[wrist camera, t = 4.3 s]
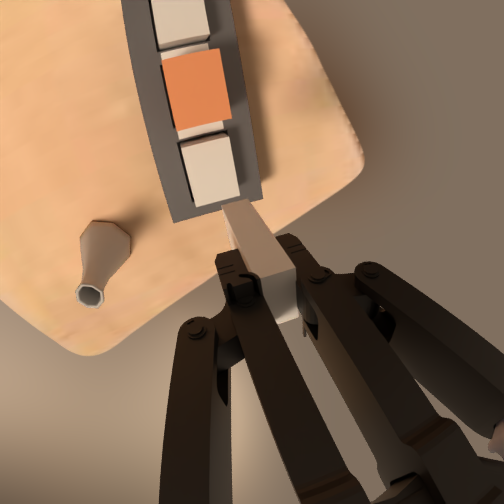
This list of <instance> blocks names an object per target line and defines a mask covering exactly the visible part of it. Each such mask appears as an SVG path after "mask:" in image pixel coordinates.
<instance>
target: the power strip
mask: <svg viewBox="0 0 504 504" xmlns="http://www.w3.org/2000/svg"><path fill="white" fill-rule="evenodd" d="M121 4H122V11H123V18H124V24H125V30H126V36H127V42H128V48H129V53H130V58H131V63H132V68H133V73H134V78H135V83H136V87H137V92H138V96H139V101H140V105H141V109H142V113H143V117H144V121H145V125H146V129H147V133H148V137H149V141H150V145H151V149H152V152H153V156H154V160H155V163H156V167H157V170H158V174H159V177H160V181H161V184H162V187H163V191H164V194H165V197H166V200H167V204H168V207H169V210H170V213H171V216H172V220H173V223H176V222H180V221H183V220H187V219H190V218H194V217H197V216H201V215H204V214H208V213H212V212H215V211H219V210H222V207H221V205H225V204H229V203H232V202H236V201H240V200H244V199H248V200H249V201H250V202H253V201H257V200H261V199H263V195H262V188H261V181H260V175H259V168H258V162H257V155H256V149H255V142H254V136H253V130H252V124H251V118H250V112H249V105H248V99H247V94H246V88H245V82H244V76H243V70H242V64H241V59H240V53H239V48H238V42H237V37H236V31H235V26H234V20H233V15H232V10H231V5H230V0H204V5H205V10H206V16H207V21H208V26H209V32H210V35H209V36H208V38H207V39H206V41H205V42H201V43H196V44H191V45H186V46H181V47H177V48H172V49H168V50H164V51H160V48H159V43H158V38H157V32H156V27H155V21H154V15H153V9H152V3H151V0H121ZM217 48H219V50H220V55H221V60H222V66H223V71H224V77H225V82H226V88H227V93H228V99H229V104H230V110H231V115H232V119H227V120H222V121H217V122H213V123H209V124H204V125H200V126H196V127H192V128H188V129H184V130H181V131H177V130H176V126H175V122H174V118H173V113H172V109H171V104H170V100H169V95H168V90H167V86H166V81H165V76H164V71H163V66H162V61H161V60H164V59H168V58H172V57H177V56H181V55H185V54H190V53H195V52H200V51H206V50H211V49H217ZM220 131H222V132H223V133H225V134H226V135H228V136H229V139H230V144H231V150H232V155H233V160H234V166H235V171H236V176H237V182H238V187H239V192H240V196H236V197H233V198H229V199H225V200H221V201H217V202H214V203H210V204H206V205H203V206H199V207H196V205H195V201H194V197H193V193H192V189H191V186H190V182H189V178H188V174H187V170H186V166H185V162H184V158H183V154H182V150H181V145H180V141H183V140H187V139H191V138H195V137H199V136H203V135H207V134H211V133H216V132H220Z"/></svg>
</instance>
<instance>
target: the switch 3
mask: <svg viewBox="0 0 504 504" xmlns="http://www.w3.org/2000/svg"><path fill="white" fill-rule="evenodd" d="M180 145H181V150H182V154H183V158H184V162H185V166H186V170H187V174H188V178H189V182H190V186H191V189H192V193H193V197H194V201H195V205H196V207H199V206H203V205H206V204H210V203H214V202H217V201H221V200H225V199H229V198H233V197H236V196H240V192H239V187H238V182H237V176H236V171H235V166H234V160H233V155H232V150H231V144H230V139H229V136H228V135H226V134H225V133H223V132H222V131H220V132H216V133H211V134H207V135H203V136H199V137H195V138H191V139H187V140H183V141H180Z"/></svg>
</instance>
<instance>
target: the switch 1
mask: <svg viewBox="0 0 504 504" xmlns="http://www.w3.org/2000/svg"><path fill="white" fill-rule="evenodd" d="M151 3H152V9H153V15H154V21H155V27H156V32H157V38H158V43H159V48H160V51H164V50H168V49H172V48H177V47H181V46H186V45H191V44H196V43H201V42H205V41H206V39H207V38H208V36H209V35H210V32H209V26H208V21H207V16H206V10H205V5H204V0H151Z"/></svg>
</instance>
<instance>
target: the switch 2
mask: <svg viewBox="0 0 504 504" xmlns="http://www.w3.org/2000/svg"><path fill="white" fill-rule="evenodd" d="M161 61H162V66H163V71H164V76H165V81H166V86H167V90H168V95H169V100H170V104H171V109H172V113H173V118H174V122H175V126H176V130H177V131H181V130H184V129H188V128H192V127H196V126H200V125H204V124H209V123H213V122H217V121H222V120H227V119H232V115H231V110H230V104H229V99H228V93H227V88H226V82H225V77H224V71H223V66H222V60H221V55H220V50H219V48H217V49H211V50H206V51H200V52H195V53H190V54H185V55H181V56H177V57H172V58H168V59H164V60H161Z"/></svg>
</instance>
